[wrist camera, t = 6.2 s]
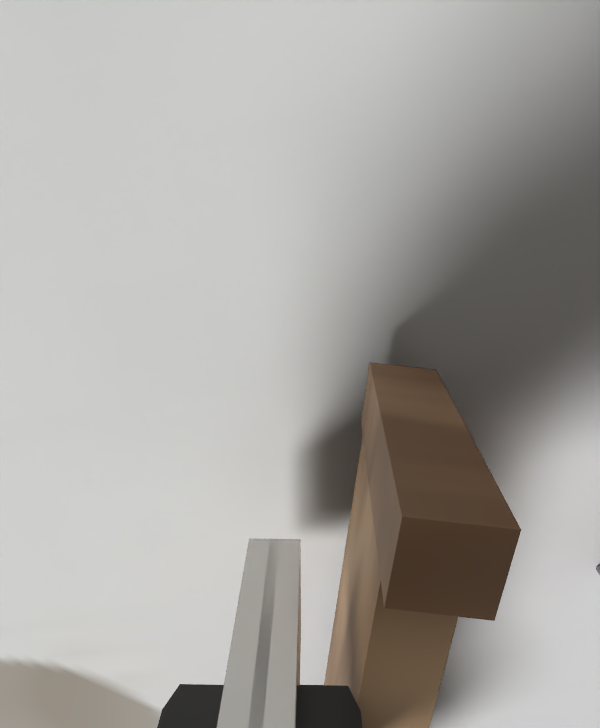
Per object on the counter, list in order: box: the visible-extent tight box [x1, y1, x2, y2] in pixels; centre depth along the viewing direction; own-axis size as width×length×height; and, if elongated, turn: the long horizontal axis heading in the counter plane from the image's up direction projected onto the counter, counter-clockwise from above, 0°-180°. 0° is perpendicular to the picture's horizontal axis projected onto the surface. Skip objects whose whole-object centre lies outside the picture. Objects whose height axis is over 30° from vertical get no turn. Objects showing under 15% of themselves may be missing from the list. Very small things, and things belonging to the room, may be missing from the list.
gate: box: [324, 363, 521, 728], centre depth 12 cm, size 14×2×6 cm, turn 175°
